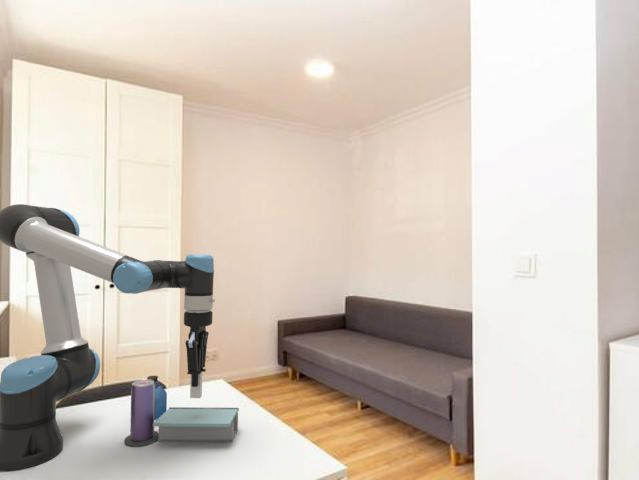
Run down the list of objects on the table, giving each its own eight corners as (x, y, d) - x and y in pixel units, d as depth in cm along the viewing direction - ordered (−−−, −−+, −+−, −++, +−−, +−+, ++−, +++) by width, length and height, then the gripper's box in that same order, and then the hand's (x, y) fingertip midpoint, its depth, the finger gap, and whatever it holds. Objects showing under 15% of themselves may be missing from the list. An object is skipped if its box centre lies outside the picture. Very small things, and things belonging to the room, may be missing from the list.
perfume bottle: (166, 412, 130) (167, 374, 130) (155, 420, 124) (155, 380, 124) (148, 411, 131) (149, 373, 131) (136, 419, 125) (137, 379, 125)
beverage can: (145, 443, 108) (146, 386, 108) (125, 441, 109) (126, 385, 109) (158, 433, 113) (159, 379, 114) (139, 431, 115) (140, 378, 115)
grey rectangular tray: (158, 441, 110) (158, 422, 110) (168, 430, 117) (168, 411, 117) (232, 442, 110) (232, 422, 110) (237, 430, 117) (238, 412, 117)
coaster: (117, 447, 107) (117, 445, 107) (133, 431, 116) (133, 430, 116) (152, 447, 107) (152, 445, 107) (165, 432, 116) (165, 430, 116)
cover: (152, 426, 106) (152, 422, 106) (169, 410, 118) (170, 406, 118) (229, 426, 106) (229, 422, 106) (238, 410, 118) (238, 407, 118)
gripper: (205, 314, 105) (202, 406, 105) (218, 307, 118) (215, 389, 118) (176, 313, 105) (173, 405, 105) (192, 306, 118) (190, 388, 118)
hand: (195, 397), depth 111 cm, fingers closed
